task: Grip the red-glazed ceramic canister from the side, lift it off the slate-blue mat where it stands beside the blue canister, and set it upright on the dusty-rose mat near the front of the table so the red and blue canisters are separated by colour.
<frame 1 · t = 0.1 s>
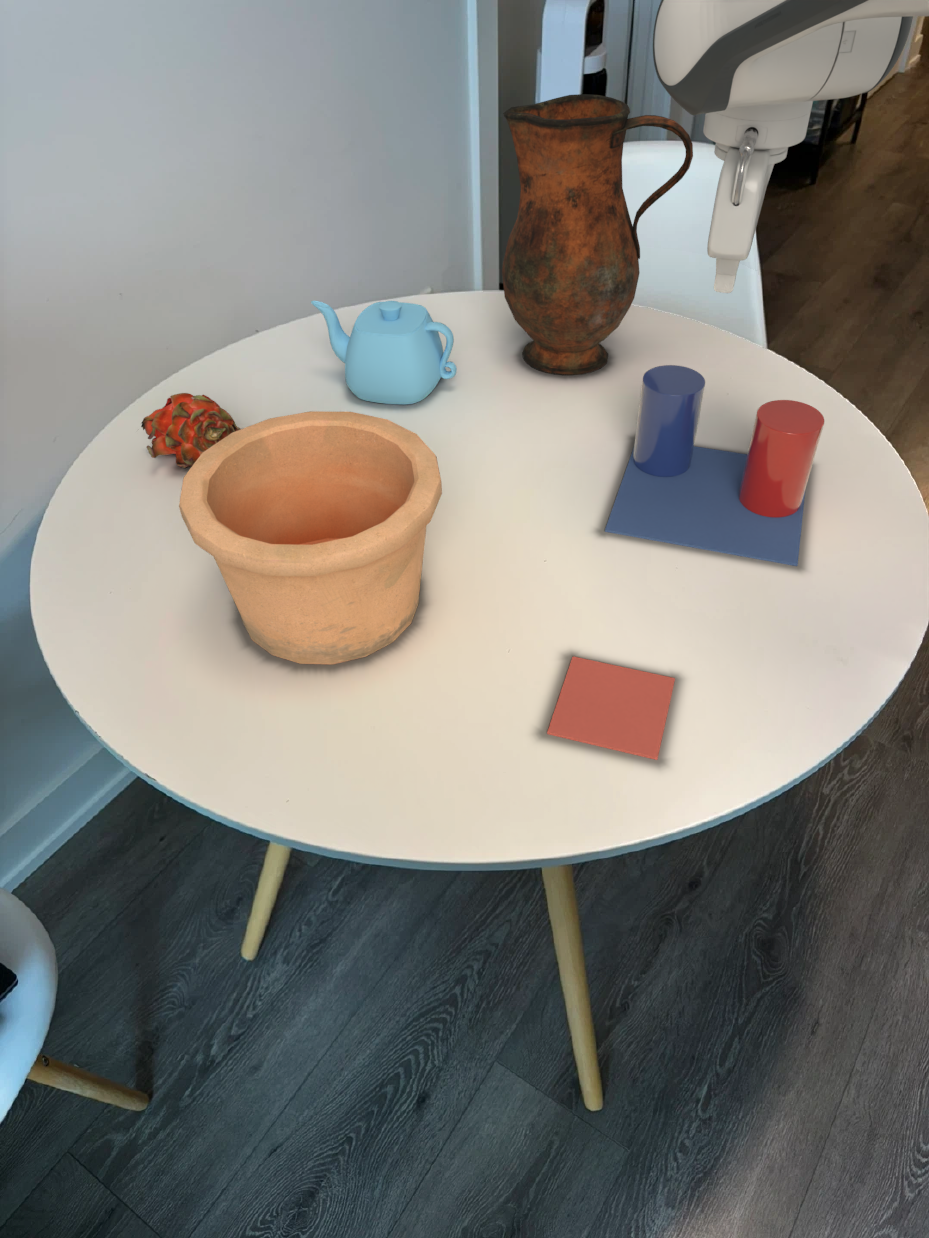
hand: (729, 269, 90), 21 cm above the table, tool pointing down, fingers open, 8 cm apart
teapot: (388, 385, 117), on the table
dragon fruit: (196, 460, 106), on the table
blue mat: (709, 498, 98), on the table
red canister: (769, 499, 97), resting on blue mat
blue canister: (661, 460, 103), resting on blue mat
pottery: (331, 604, 88), on the table
red mat: (612, 707, 77), on the table
pitcher: (580, 361, 121), on the table
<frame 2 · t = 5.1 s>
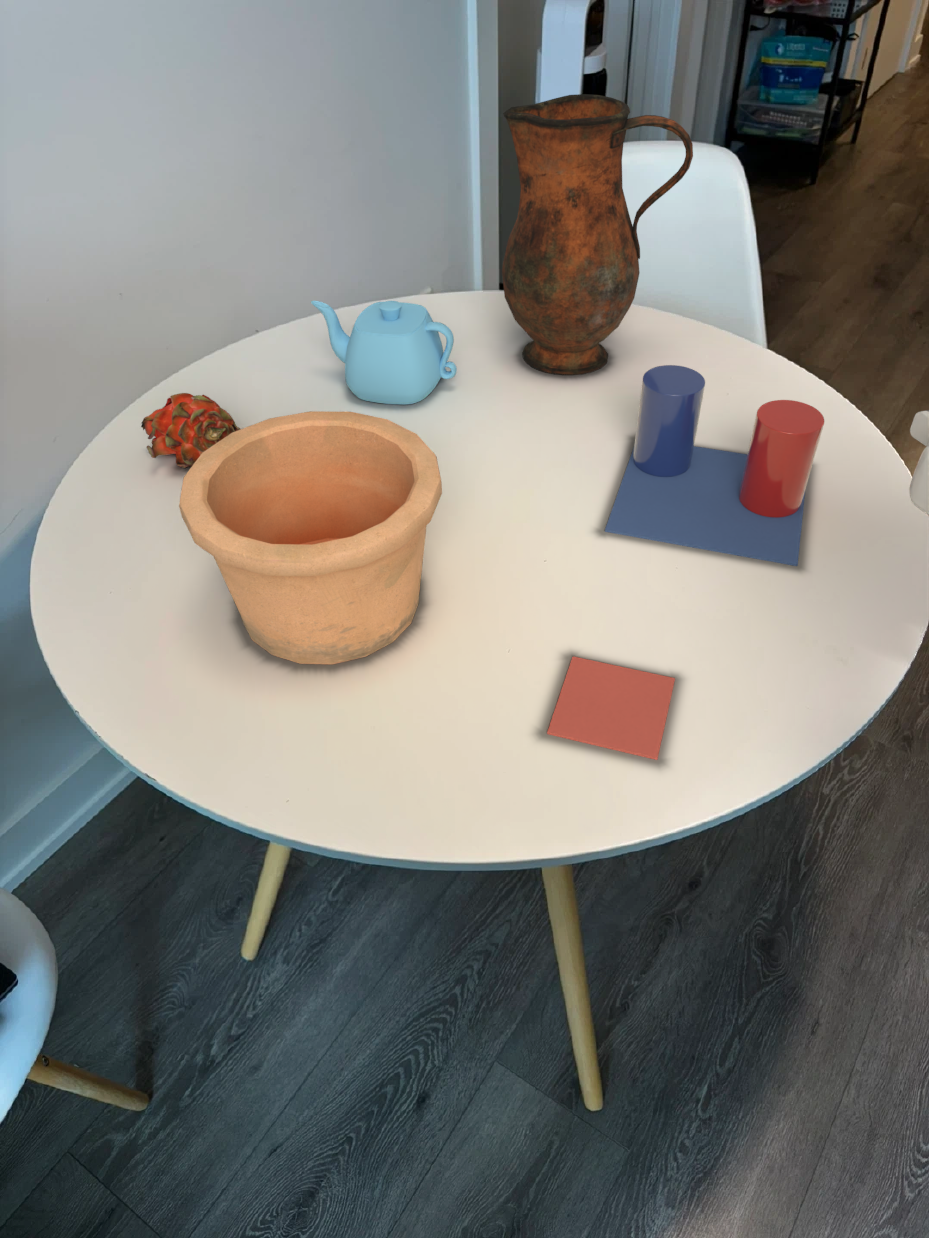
nothing on the table moved.
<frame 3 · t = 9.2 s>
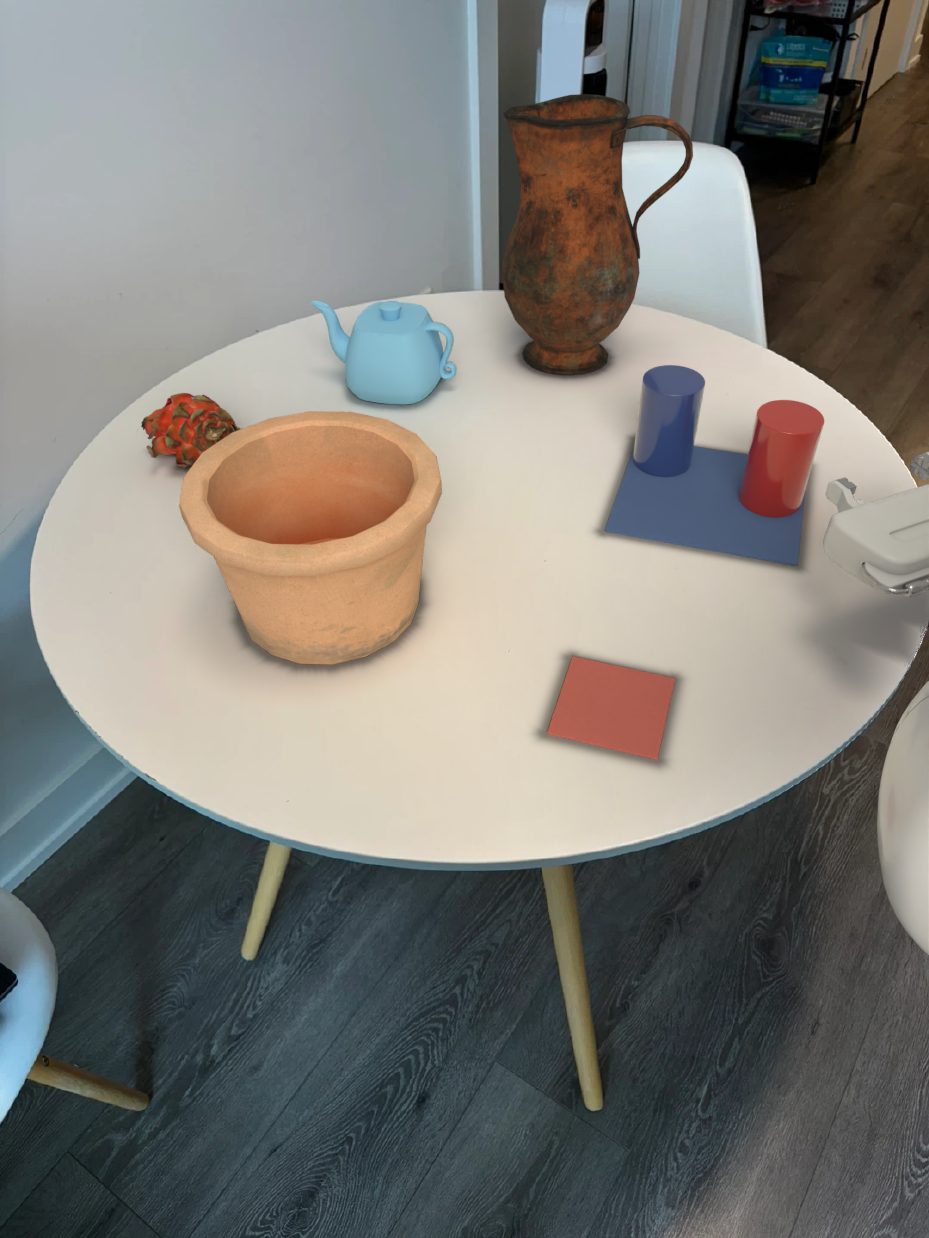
hand: (876, 472, 82), 11 cm above the table, tool horizontal, fingers open, 8 cm apart
nothing on the table moved.
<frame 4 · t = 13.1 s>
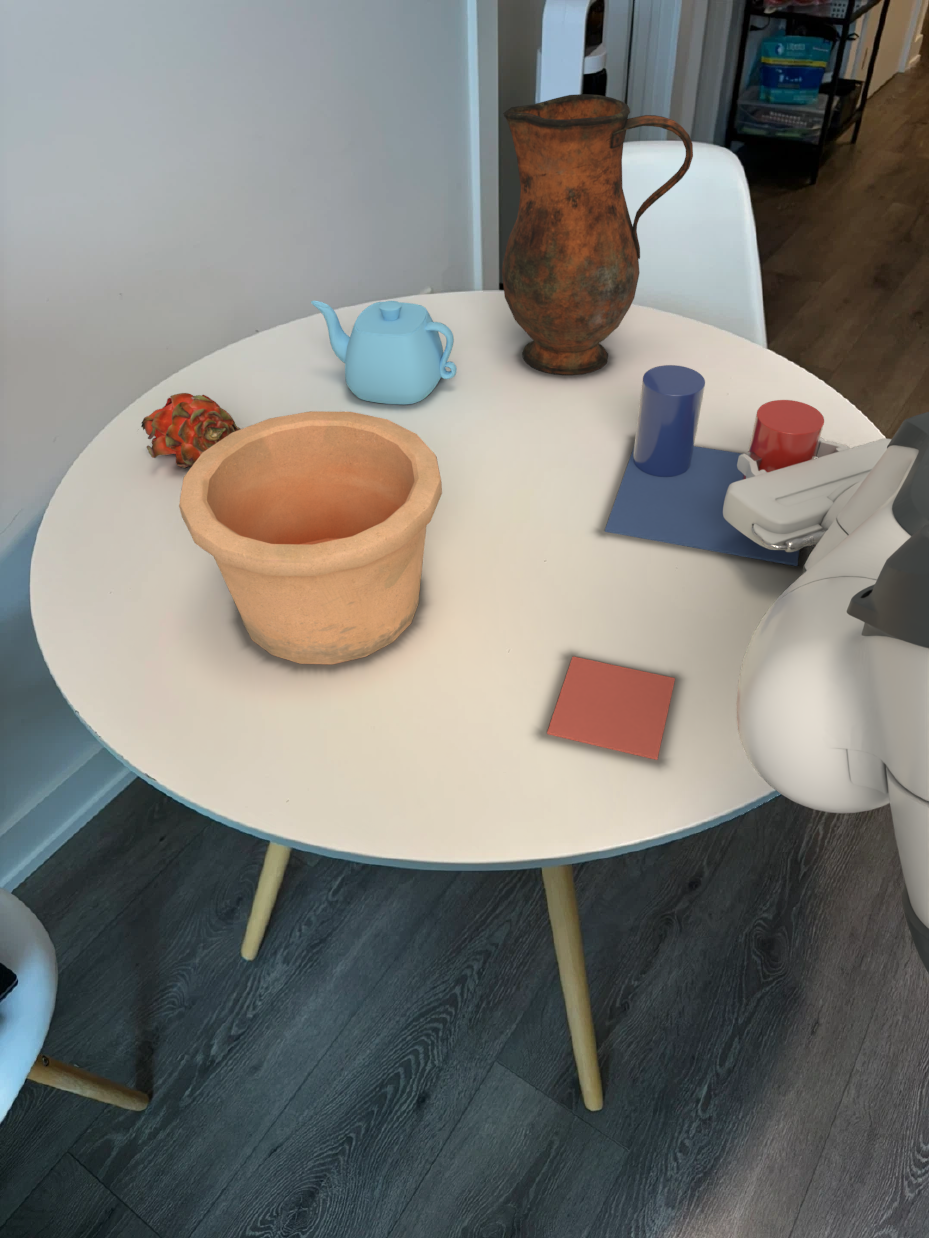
hand: (775, 449, 94), 6 cm above the table, tool horizontal, fingers closed on red canister, 6 cm apart
red canister: (769, 499, 97), resting on blue mat, touching gripper
everything else where it was.
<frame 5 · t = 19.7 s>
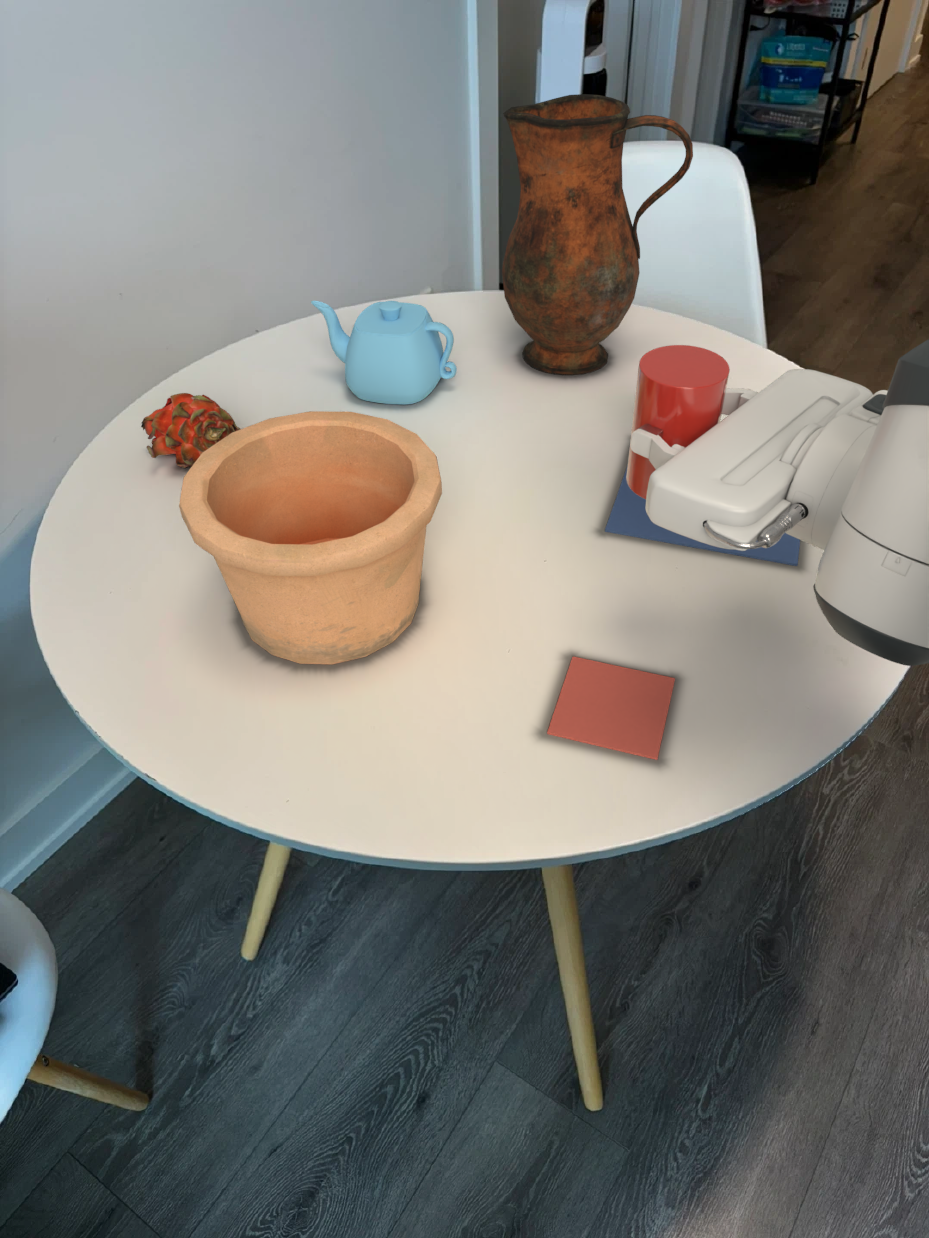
hand: (666, 414, 70), 22 cm above the table, tool horizontal, fingers closed on red canister, 6 cm apart
red canister: (666, 480, 73), point 16 cm above the table, touching gripper
everything else where it was.
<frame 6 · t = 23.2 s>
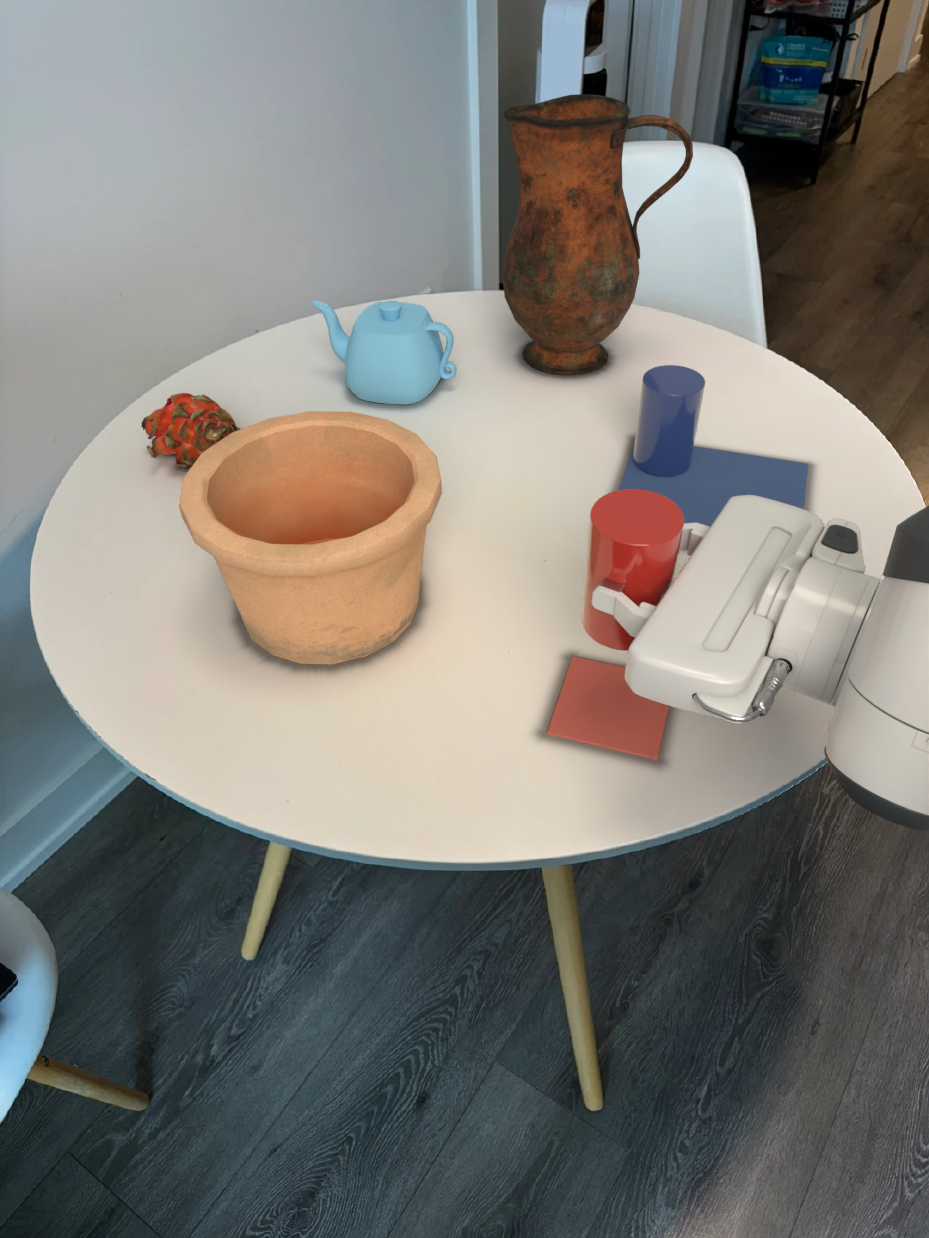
hand: (620, 560, 67), 16 cm above the table, tool horizontal, fingers closed on red canister, 6 cm apart
red canister: (623, 621, 70), point 10 cm above the table, touching gripper
everything else where it was.
when the fingers open (6 cm above the table, at t = 26.4 s): red canister stays where it is, resting on red mat.
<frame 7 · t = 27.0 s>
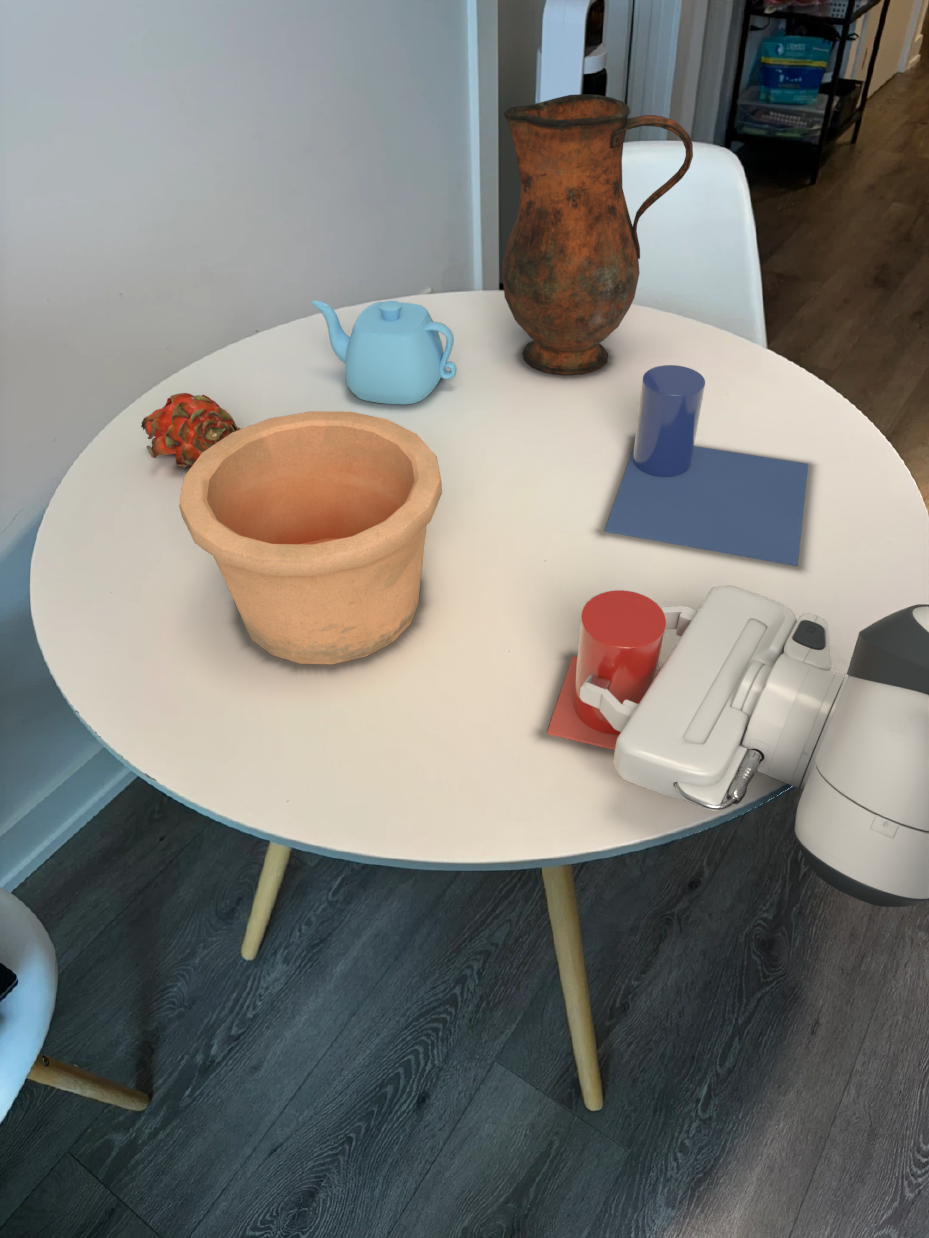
hand: (610, 648, 73), 7 cm above the table, tool horizontal, fingers open, 8 cm apart
red canister: (611, 704, 77), resting on red mat
everything else where it was.
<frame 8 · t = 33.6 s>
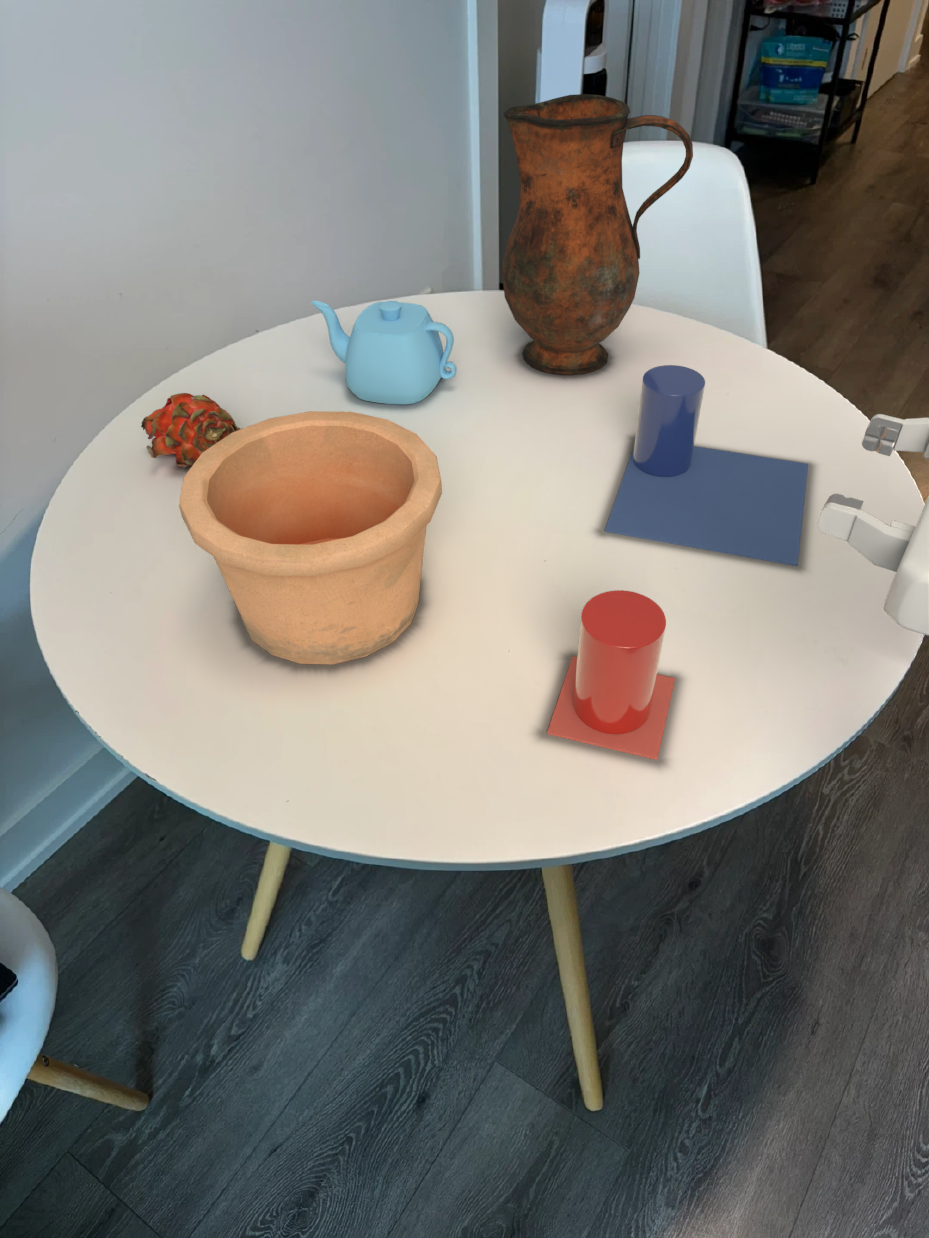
hand: (845, 468, 53), 28 cm above the table, tool horizontal, fingers open, 8 cm apart
nothing on the table moved.
at the end: red canister inside the target area on the red mat (0.1 cm from its centre), point 0.4 cm above the red mat's base; red canister tilted 0°; blue canister inside the target area on the blue mat (7.8 cm from its centre), point 0.4 cm above the blue mat's base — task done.
